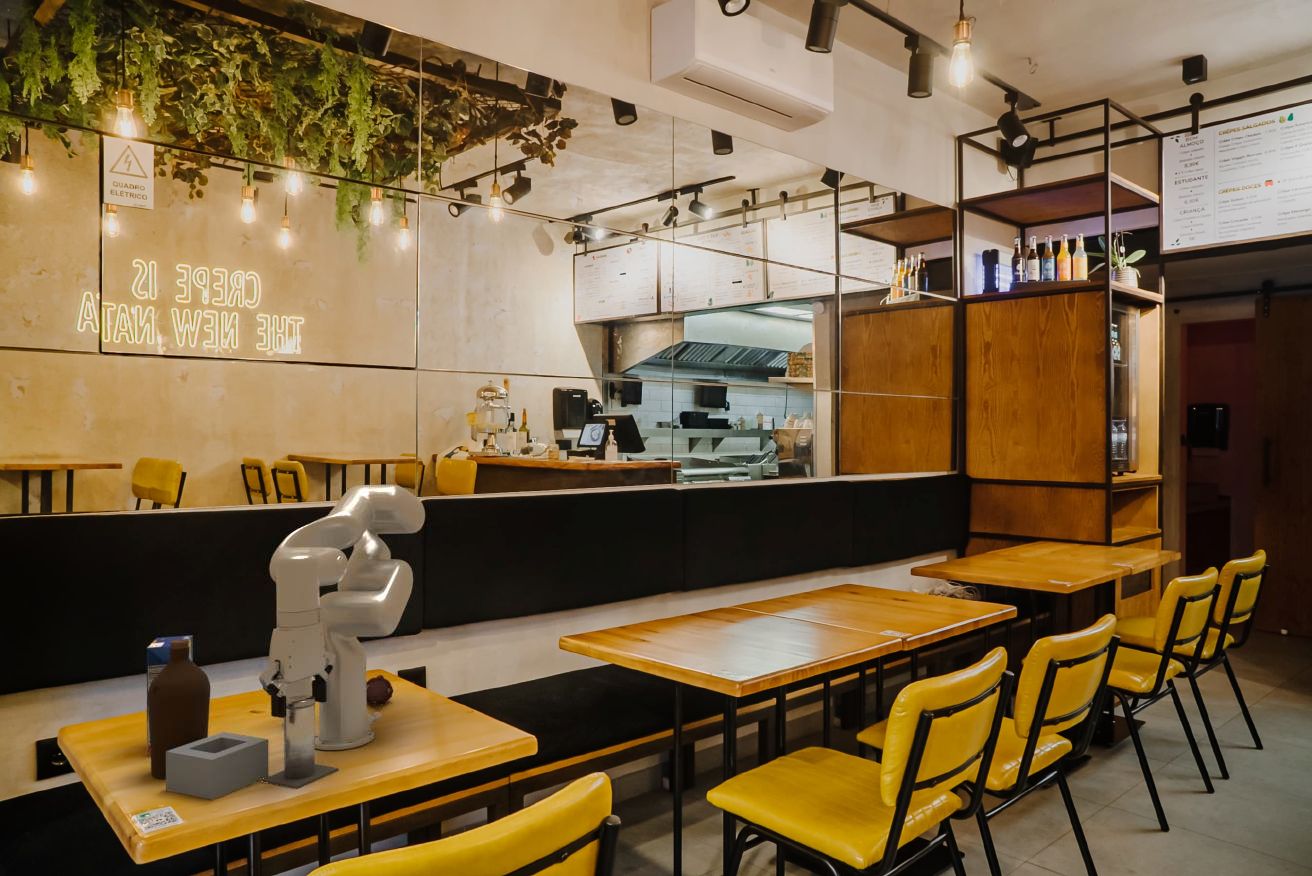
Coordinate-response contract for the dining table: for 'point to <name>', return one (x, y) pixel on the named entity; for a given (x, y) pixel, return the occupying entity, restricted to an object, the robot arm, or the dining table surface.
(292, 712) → the silver metallic cylinder
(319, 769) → the mat
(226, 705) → the dining table surface
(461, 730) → the dining table surface
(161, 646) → the beverage box
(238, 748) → the housing
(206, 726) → the olive oil
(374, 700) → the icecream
